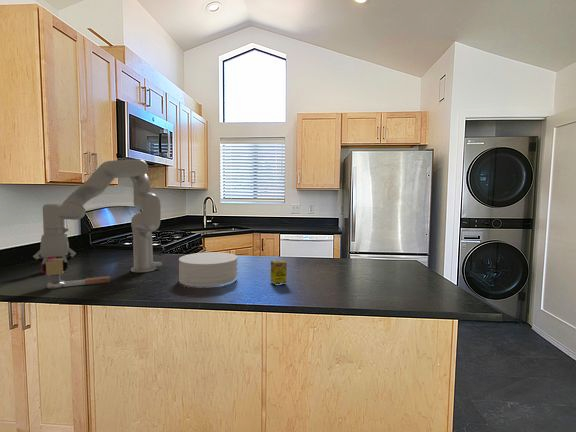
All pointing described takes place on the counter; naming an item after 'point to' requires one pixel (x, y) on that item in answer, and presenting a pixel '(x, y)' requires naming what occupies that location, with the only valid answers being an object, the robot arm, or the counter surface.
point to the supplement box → (278, 271)
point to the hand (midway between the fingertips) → (55, 271)
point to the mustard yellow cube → (54, 266)
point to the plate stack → (207, 268)
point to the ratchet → (75, 281)
